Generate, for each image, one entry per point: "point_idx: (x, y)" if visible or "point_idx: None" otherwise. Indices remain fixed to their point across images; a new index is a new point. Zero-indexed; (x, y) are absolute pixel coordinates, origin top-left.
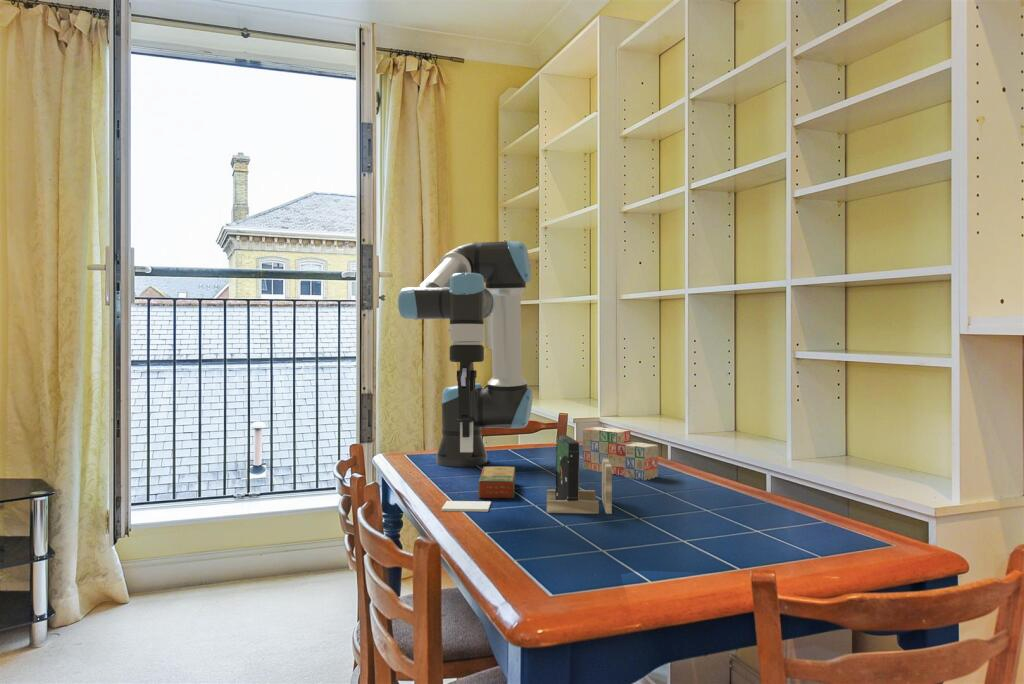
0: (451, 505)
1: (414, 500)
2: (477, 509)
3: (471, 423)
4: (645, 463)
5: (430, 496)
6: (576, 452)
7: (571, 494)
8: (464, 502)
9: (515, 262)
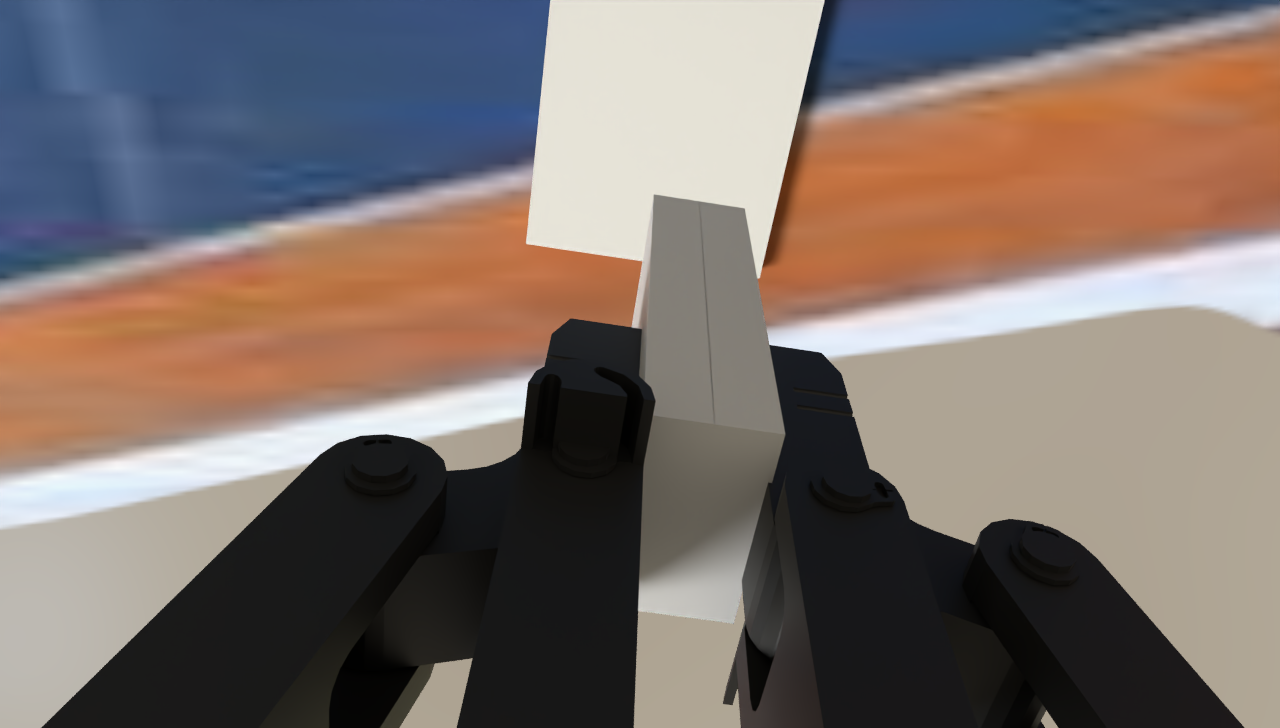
0: None
1: (426, 436)
2: (822, 9)
3: (783, 438)
4: None
5: (298, 343)
6: None
7: None
8: (587, 110)
9: None
